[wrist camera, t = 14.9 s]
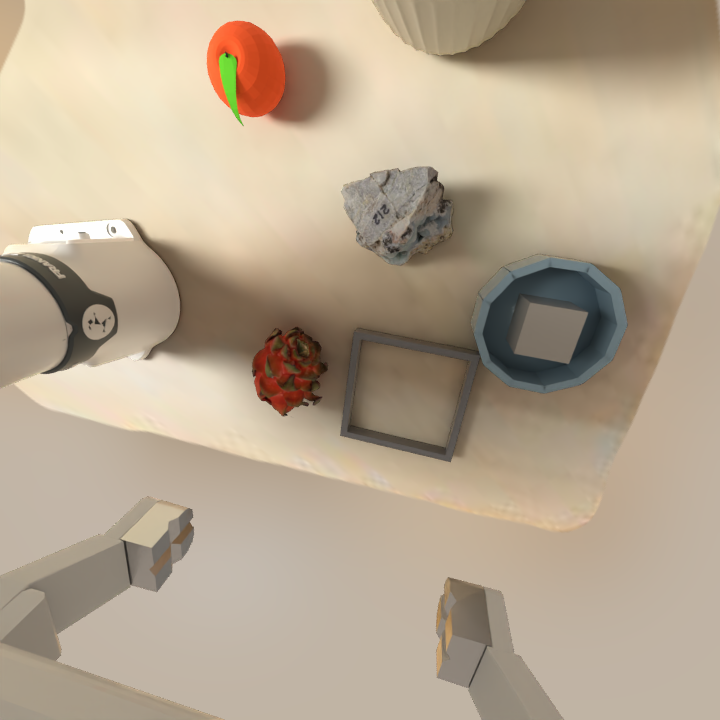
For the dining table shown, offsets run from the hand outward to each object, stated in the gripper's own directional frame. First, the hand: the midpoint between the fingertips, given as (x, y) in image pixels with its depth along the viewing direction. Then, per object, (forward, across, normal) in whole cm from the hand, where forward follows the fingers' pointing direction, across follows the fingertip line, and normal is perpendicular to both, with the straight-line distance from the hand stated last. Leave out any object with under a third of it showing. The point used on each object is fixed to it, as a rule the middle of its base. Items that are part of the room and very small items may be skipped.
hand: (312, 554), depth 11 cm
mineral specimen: (+33, +2, -10) cm, 35 cm away
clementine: (+34, +18, -20) cm, 43 cm away
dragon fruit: (+34, +12, +9) cm, 37 cm away
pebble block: (+32, -14, -2) cm, 35 cm away
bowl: (+33, -14, -2) cm, 36 cm away
